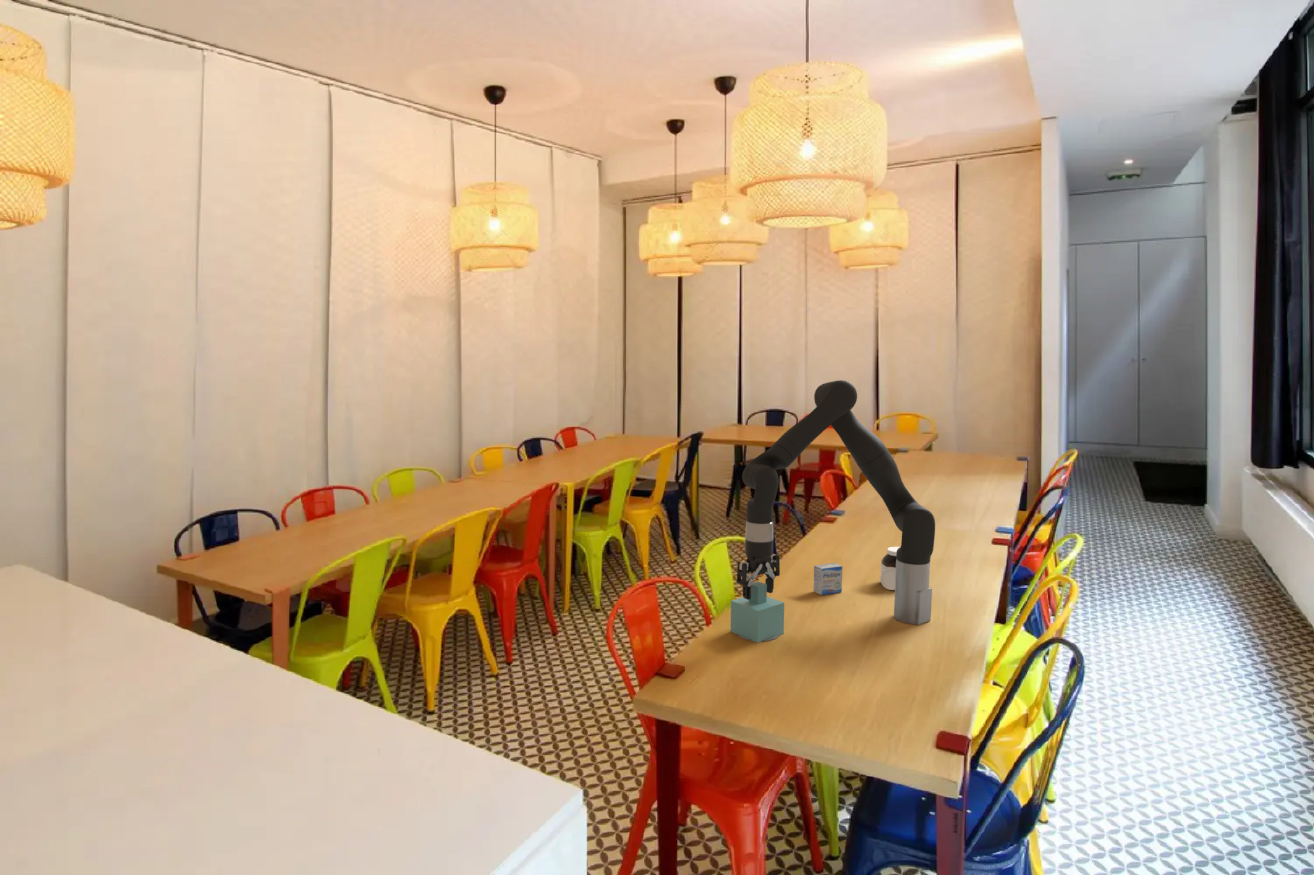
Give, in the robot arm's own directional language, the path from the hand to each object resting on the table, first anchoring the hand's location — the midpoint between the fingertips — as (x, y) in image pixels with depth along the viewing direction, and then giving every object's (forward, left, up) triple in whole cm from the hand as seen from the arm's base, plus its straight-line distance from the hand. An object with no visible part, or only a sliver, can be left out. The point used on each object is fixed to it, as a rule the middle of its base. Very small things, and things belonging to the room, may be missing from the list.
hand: (758, 595), depth 213 cm
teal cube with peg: (0, 0, -11) cm, 11 cm away
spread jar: (0, -64, -11) cm, 65 cm away
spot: (0, 0, -11) cm, 11 cm away
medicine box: (+10, -42, -11) cm, 45 cm away
